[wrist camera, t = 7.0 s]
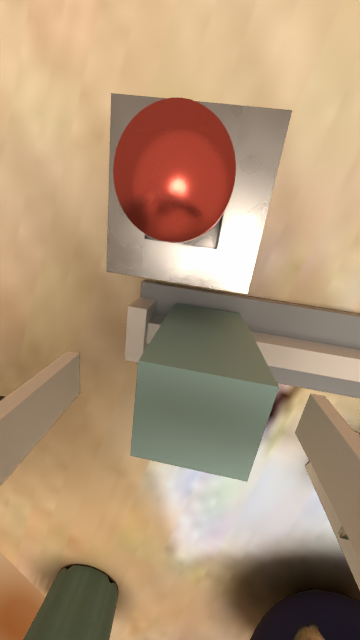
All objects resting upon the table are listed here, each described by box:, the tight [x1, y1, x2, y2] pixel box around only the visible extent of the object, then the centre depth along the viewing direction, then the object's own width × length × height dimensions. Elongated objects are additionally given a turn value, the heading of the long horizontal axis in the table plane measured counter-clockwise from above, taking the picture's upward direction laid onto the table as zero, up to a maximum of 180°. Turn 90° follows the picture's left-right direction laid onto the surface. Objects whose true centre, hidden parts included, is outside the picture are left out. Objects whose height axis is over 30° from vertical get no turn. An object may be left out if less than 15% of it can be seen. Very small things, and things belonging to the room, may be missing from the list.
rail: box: [125, 280, 360, 398], centre depth 20 cm, size 26×8×5 cm, turn 82°
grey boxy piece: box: [107, 93, 292, 294], centre depth 16 cm, size 9×9×8 cm
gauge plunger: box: [113, 98, 236, 243], centre depth 11 cm, size 4×4×7 cm
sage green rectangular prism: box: [130, 303, 279, 481], centre depth 16 cm, size 6×6×12 cm
